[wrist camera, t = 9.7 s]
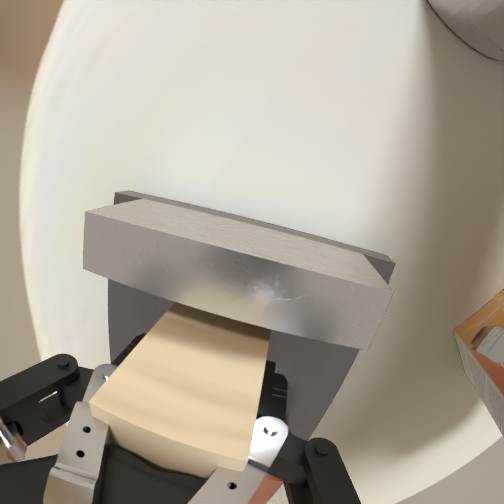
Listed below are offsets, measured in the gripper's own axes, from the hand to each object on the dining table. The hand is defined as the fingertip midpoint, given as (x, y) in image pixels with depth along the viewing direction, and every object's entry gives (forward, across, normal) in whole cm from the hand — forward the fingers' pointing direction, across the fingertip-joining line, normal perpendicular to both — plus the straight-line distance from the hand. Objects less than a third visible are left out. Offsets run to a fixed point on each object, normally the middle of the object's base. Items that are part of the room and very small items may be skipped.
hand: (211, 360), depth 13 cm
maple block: (+1, 0, 0) cm, 1 cm away
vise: (+5, 0, +5) cm, 7 cm away
